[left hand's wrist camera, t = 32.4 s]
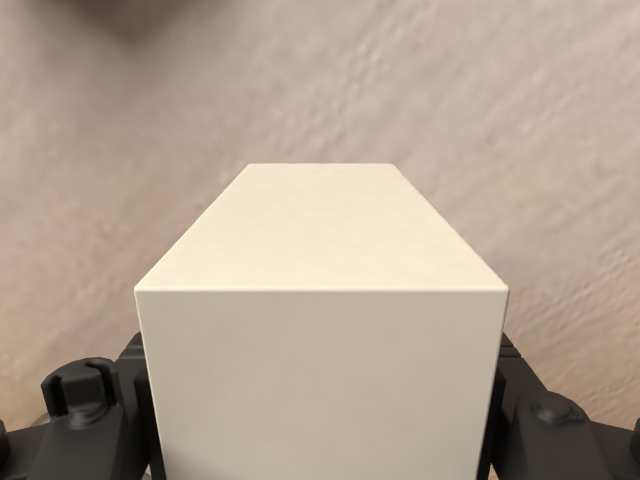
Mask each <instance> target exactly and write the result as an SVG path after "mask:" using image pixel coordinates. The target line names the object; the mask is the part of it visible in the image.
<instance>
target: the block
mask: <svg viewBox="0 0 640 480" xmlns="http://www.w3.org/2000/svg"><path fill="white" fill-rule="evenodd" d="M509 294H510V289H509V287H508V286H507V284H506V283H505V282H504V281H503V280H502V279H501V278H500V277H499V276H498V275H497V274H496V273H495V272H494V271H493V270H492V269H491V268H490V267H489V265H488V264H487V263H486V262H485V261H484V260H483V259H482V258H481V257H480V256H479V255H478V254H477V253H476V252H475V251H474V250H473V249H472V247H471V246H470V245H469V244H468V243H467V242H466V241H465V240H464V239H463V238H462V237H461V236H460V235H459V234H458V233H457V232H456V231H455V229H454V228H453V227H452V226H451V225H450V224H449V223H448V222H447V221H446V220H445V219H444V218H443V217H442V216H441V215H440V214H439V213H438V211H437V210H436V209H435V208H434V207H433V206H432V205H431V204H430V203H429V202H428V201H427V200H426V199H425V198H424V197H423V196H422V195H421V193H420V192H419V191H418V190H417V189H416V188H415V187H414V186H413V185H412V184H411V183H410V182H409V181H408V180H407V179H406V178H405V177H404V175H403V174H402V173H401V172H400V171H399V170H398V169H397V168H396V167H395V166H394V165H393V164H249V165H248V166H247V167H246V168H245V169H244V170H243V171H242V172H241V173H240V174H239V175H238V176H237V178H236V179H235V180H234V181H233V182H232V183H231V184H230V185H229V186H228V187H227V188H226V189H225V190H224V192H223V193H222V194H221V195H220V196H219V197H218V198H217V199H216V200H215V201H214V202H213V203H212V204H211V206H210V207H209V208H208V209H207V210H206V211H205V212H204V213H203V214H202V215H201V216H200V217H199V218H198V220H197V221H196V222H195V223H194V224H193V225H192V226H191V227H190V228H189V229H188V230H187V231H186V232H185V234H184V235H183V236H182V237H181V238H180V239H179V240H178V241H177V242H176V243H175V244H174V245H173V246H172V248H171V249H170V250H169V251H168V252H167V253H166V254H165V255H164V256H163V257H162V258H161V259H160V260H159V262H158V263H157V264H156V265H155V266H154V267H153V268H152V269H151V270H150V271H149V272H148V273H147V274H146V276H145V277H144V278H143V279H142V280H141V281H140V282H139V283H138V284H137V285H136V286H135V288H134V295H135V300H136V306H137V312H138V318H139V323H140V329H141V335H142V341H143V346H144V352H145V358H146V364H147V369H148V375H149V381H150V387H151V392H152V398H153V404H154V409H155V415H156V421H157V427H158V432H159V438H160V444H161V450H162V455H163V461H164V467H165V473H166V478H167V480H476V479H477V474H478V468H479V462H480V457H481V451H482V446H483V440H484V434H485V429H486V423H487V417H488V412H489V406H490V401H491V395H492V389H493V384H494V378H495V373H496V367H497V361H498V356H499V350H500V344H501V339H502V333H503V328H504V322H505V316H506V311H507V305H508V299H509Z"/></svg>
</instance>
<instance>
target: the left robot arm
mask: <svg viewBox="0 0 640 480" xmlns="http://www.w3.org/2000/svg"><path fill="white" fill-rule="evenodd" d="M41 388H42V392H43V395H44V399H45V402H46V406H47V409H48V413H46V414H44V415H43V416H41V417H40V418H39V419H37V420H36V421H35V422H34V423H33V424H32V425H31V426H30V427H29V428H25V429H20V430H16V431H11V432H6V429H5V426H4V423H3V421H2V420H0V480H167V478H166V473H165V467H164V461H163V455H162V450H161V444H160V438H159V432H158V427H157V421H156V415H155V409H154V404H153V398H152V392H151V387H150V381H149V375H148V369H147V364H146V358H145V352H144V346H143V341H142V335H141V331H140V332H138V333H137V334H135V336H134V337H133V338H132V340H131V341H130V342H129V344H128V345H127V346H126V349H124V350H123V352H122V353H121V355H120V356H119V359H117V360H116V361H115V363H114V362H113V361H112V360H110V359H106V358H101V357H96V358H85V359H81V360H77V361H74V362H71V363H69V364H67V365H64V366H62V367H60V368H58V369H57V370H55V371H54V372H53V373H51V374H50V375H48V376H47V377H46V379H45V380H44V381H43V382H42V384H41ZM491 463H492V465H493V468H494V470H495V472H496V474H497V476H498V479H499V480H640V418H639V419H638V420H637V422H636V425H635V428H634V431H632V430H628V429H623V428H619V427H614V426H610V425H605V424H601V423H597V422H594V421H590V419H589V417H588V416H587V415H586V413H585V412H584V410H583V409H582V408H581V407H579V406H578V405H577V404H576V403H574V402H573V401H572V400H570V399H568V398H566V397H564V396H562V395H560V394H557V393H554V392H550V391H548V390H547V389H546V388H545V386H544V385H543V384H542V382H541V381H540V380H539V378H538V377H537V376H536V374H535V373H534V372H533V370H532V369H531V368H530V366H529V365H528V364H527V362H526V361H525V360H524V358H521V354H520V353H519V352H518V350H517V349H516V348H514V345H513V344H512V342H511V341H510V340H509V338H508V337H507V336H506V334H505V333H504V332H503V333H502V339H501V344H500V350H499V356H498V361H497V367H496V373H495V378H494V384H493V389H492V395H491V401H490V406H489V412H488V417H487V423H486V429H485V434H484V440H483V446H482V451H481V457H480V462H479V468H478V474H477V479H476V480H488V476H489V471H490V465H491Z"/></svg>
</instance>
